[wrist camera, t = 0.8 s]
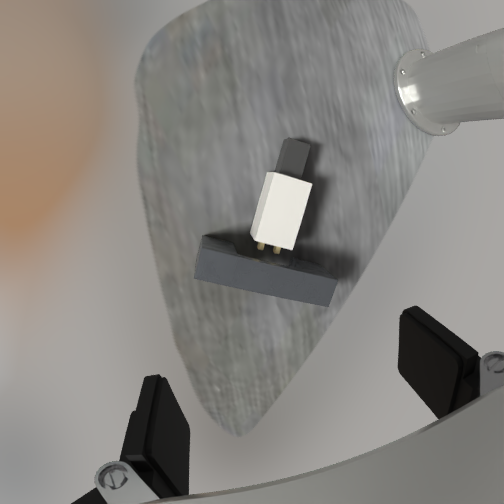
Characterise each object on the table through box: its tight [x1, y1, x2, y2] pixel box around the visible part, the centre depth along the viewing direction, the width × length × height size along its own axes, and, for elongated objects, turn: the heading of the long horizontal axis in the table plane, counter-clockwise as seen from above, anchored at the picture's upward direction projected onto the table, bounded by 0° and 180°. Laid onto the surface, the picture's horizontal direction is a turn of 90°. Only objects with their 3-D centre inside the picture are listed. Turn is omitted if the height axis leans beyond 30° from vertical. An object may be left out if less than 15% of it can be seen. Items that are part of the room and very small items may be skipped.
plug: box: [250, 138, 312, 254], centre depth 32 cm, size 12×4×4 cm, turn 164°
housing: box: [194, 235, 338, 307], centre depth 33 cm, size 3×14×6 cm, turn 74°
